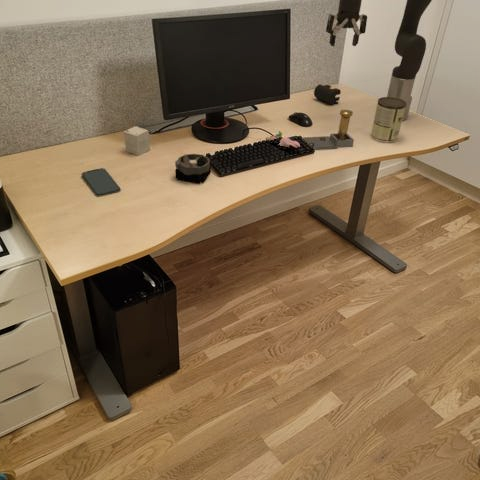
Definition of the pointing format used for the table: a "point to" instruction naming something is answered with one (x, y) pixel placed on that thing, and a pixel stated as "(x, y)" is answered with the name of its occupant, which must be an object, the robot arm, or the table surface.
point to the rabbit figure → (284, 140)
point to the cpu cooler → (192, 168)
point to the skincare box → (137, 140)
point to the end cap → (327, 94)
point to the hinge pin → (344, 124)
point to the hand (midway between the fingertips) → (343, 45)
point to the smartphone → (100, 182)
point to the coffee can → (388, 119)
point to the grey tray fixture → (328, 142)
